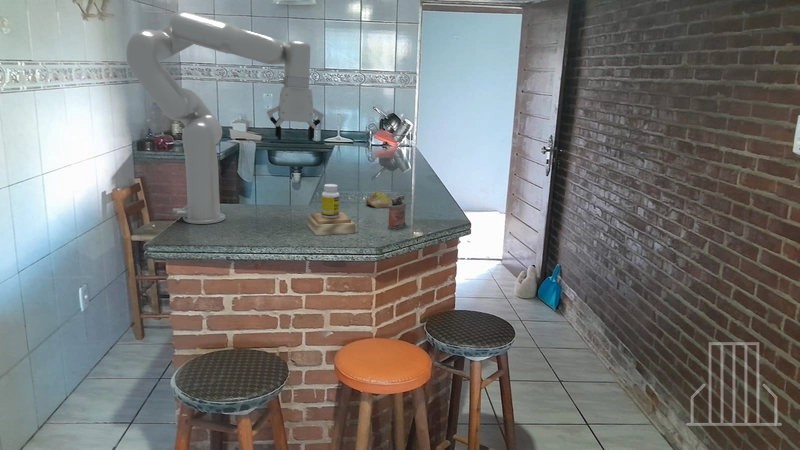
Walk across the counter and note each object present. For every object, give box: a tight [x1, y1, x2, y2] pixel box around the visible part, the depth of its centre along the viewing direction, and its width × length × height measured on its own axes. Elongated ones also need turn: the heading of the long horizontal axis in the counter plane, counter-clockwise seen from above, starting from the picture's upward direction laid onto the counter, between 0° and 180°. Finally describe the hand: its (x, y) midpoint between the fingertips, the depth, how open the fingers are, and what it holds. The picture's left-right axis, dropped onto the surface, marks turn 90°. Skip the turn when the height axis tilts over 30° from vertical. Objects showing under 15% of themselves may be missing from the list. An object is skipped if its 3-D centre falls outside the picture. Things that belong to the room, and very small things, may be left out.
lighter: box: [387, 194, 407, 231], centre depth 188 cm, size 8×3×10 cm, turn 148°
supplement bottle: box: [320, 183, 340, 218], centre depth 181 cm, size 5×5×10 cm
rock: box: [365, 191, 392, 209], centre depth 218 cm, size 12×7×10 cm
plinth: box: [306, 211, 356, 236], centre depth 183 cm, size 12×12×4 cm
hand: (294, 139), depth 185 cm, fingers open, 9 cm apart
